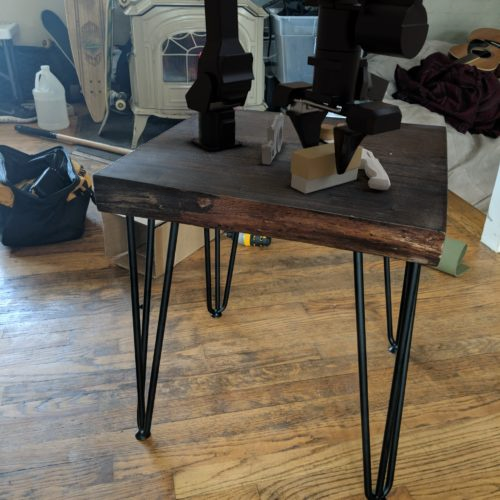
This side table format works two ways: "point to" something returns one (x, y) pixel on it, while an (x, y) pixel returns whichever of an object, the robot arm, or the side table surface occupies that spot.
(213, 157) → the side table surface
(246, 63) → the robot arm
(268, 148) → the garden wall model
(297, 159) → the oblong tan box
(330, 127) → the tan squat cylinder
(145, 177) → the side table surface
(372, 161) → the knife
